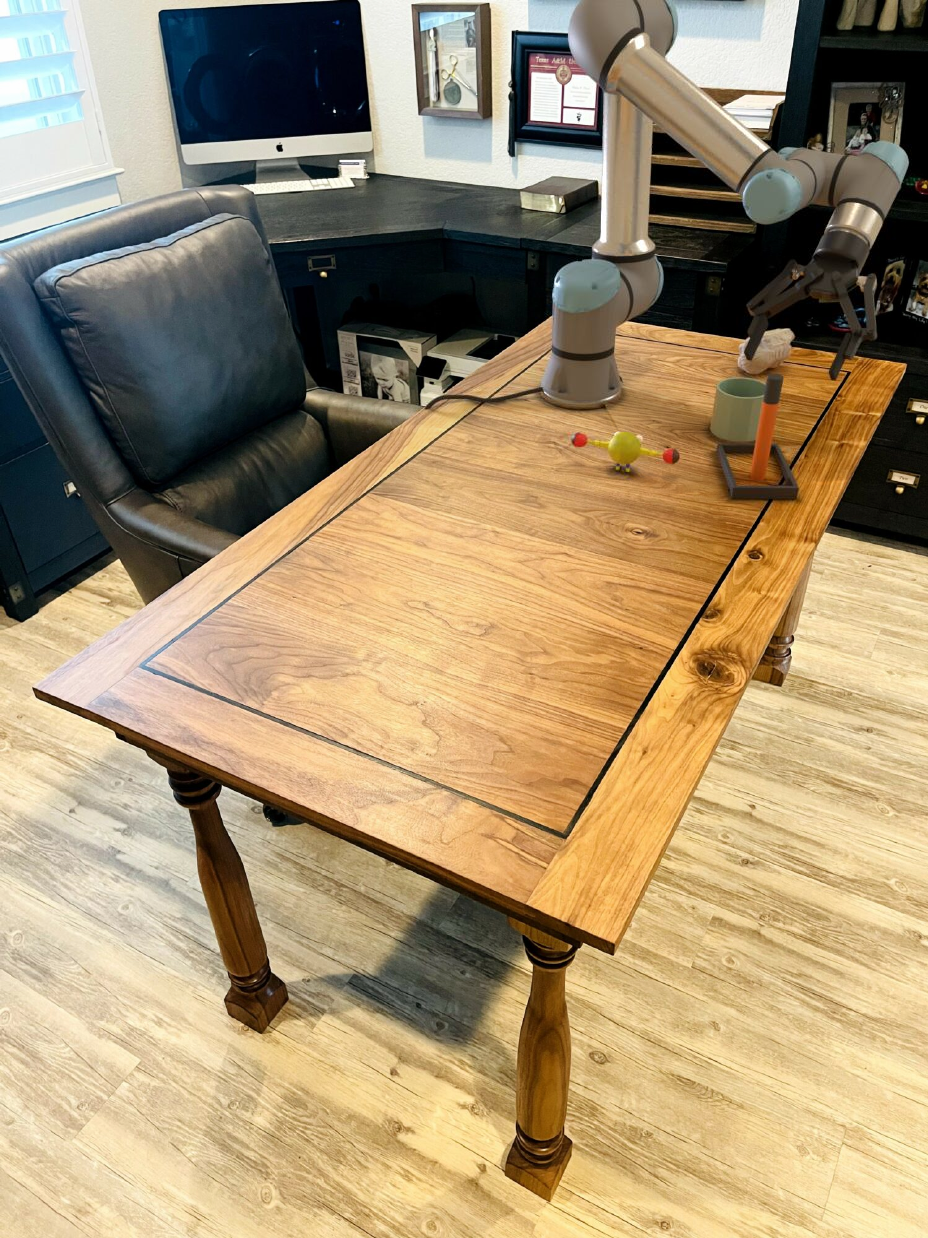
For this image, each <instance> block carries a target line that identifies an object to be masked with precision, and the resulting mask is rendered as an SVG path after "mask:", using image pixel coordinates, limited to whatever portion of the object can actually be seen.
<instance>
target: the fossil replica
mask: <svg viewBox="0 0 928 1238" xmlns="http://www.w3.org/2000/svg"><path fill="white" fill-rule="evenodd" d="M795 337H796V336H795V334H794V332H793V331H792V330H791V328H776V329H771V330H766V331H765V333H764V335H763V337H762V340H761V342H760V344H759V346H758V348H757V350H756V352H755V355H754V357H753V359H752V361H749V360H747V359H746V356H745V354H744V350H745V348H746V346H747V344H748V342H749V339H750V338H749V337H747V338H746V339H745V340H744V342H742V343H740V344H739V345H738V348H737V349H738V352H739V356H738V359H737V366H738V367H739V368H740V370H742V371H744V372H745V373H746V374H747V373H748V374H750V375H760V374H761V373H763V372H764V371H766V370H768V369H776V368H777V367H779V366H781V365H782V364H783V363H784V362H785V361H786V360H788V359H789V358H790V357H791V354H792V345H791V342H792V341H793V340H794V339H795Z"/></svg>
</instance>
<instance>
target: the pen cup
mask: <svg viewBox="0 0 928 1238" xmlns="http://www.w3.org/2000/svg"><path fill="white" fill-rule="evenodd" d="M765 385H766V382H764V381H762V380H759V379H755V378H752V377H751V378H750V377H744V376H743V377H742V376H741V377H737V376H735V377H728V378H724V379H721V380H719V381H718V382H717V383H716V385H715V392H714V398H713V404H712V405H713V406H712V412H711V413H712V414H711V420H710V427H709V429H710V430H709V431H710V432H711V434H712V435H714V436H715V437H716V438H718V439H721V440H724V441H728V442H733V443H734V442H735V443H747V442H748V443H750V442H754V441H756V437H757V431H758V425H759V420H760V414H761V408H762V402H763V397H764V391H765Z"/></svg>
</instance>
